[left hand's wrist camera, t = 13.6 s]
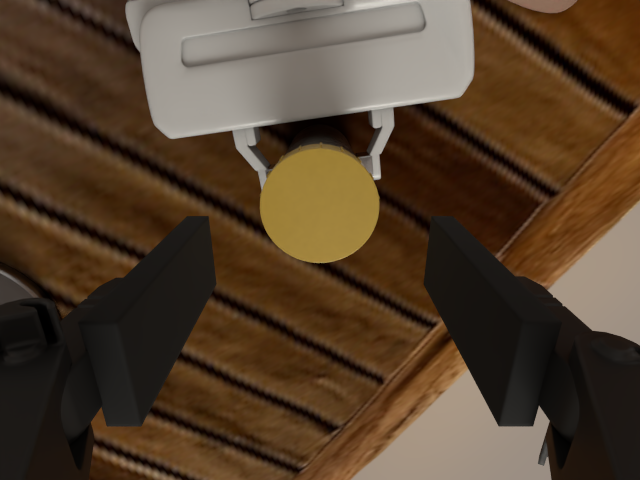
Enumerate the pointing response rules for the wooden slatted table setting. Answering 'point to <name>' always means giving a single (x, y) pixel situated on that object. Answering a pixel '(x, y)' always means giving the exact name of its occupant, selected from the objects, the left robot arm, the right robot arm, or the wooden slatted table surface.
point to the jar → (320, 137)
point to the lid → (319, 203)
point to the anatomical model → (545, 5)
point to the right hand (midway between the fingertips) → (322, 185)
